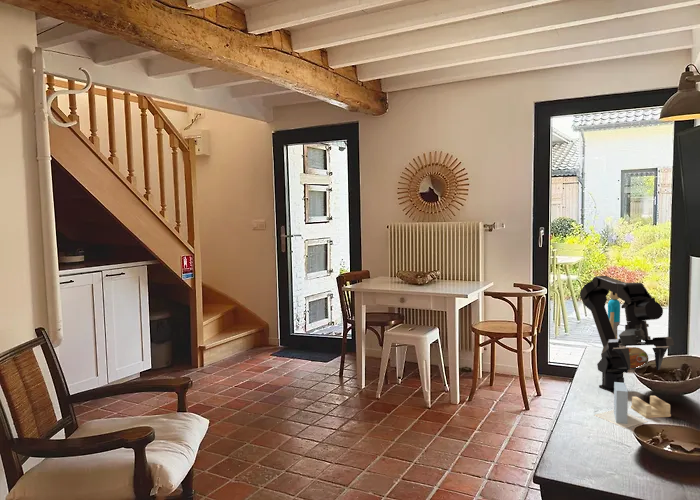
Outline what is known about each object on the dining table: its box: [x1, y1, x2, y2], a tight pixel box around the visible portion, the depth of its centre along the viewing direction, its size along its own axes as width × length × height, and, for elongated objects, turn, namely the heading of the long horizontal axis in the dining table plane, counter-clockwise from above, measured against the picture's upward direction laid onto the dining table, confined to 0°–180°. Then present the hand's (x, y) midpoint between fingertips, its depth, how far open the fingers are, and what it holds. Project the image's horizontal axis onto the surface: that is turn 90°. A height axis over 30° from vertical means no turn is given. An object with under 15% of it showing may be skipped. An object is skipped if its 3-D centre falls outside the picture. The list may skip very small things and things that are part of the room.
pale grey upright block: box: [613, 382, 629, 424], centre depth 166 cm, size 8×3×10 cm, turn 159°
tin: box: [626, 346, 649, 368], centre depth 214 cm, size 15×3×8 cm, turn 73°
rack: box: [630, 395, 672, 419], centre depth 170 cm, size 8×8×4 cm
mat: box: [594, 409, 649, 429], centre depth 166 cm, size 11×10×1 cm
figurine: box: [607, 291, 621, 339], centre depth 225 cm, size 16×6×30 cm, turn 145°
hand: (643, 369), depth 174 cm, fingers open, 9 cm apart
